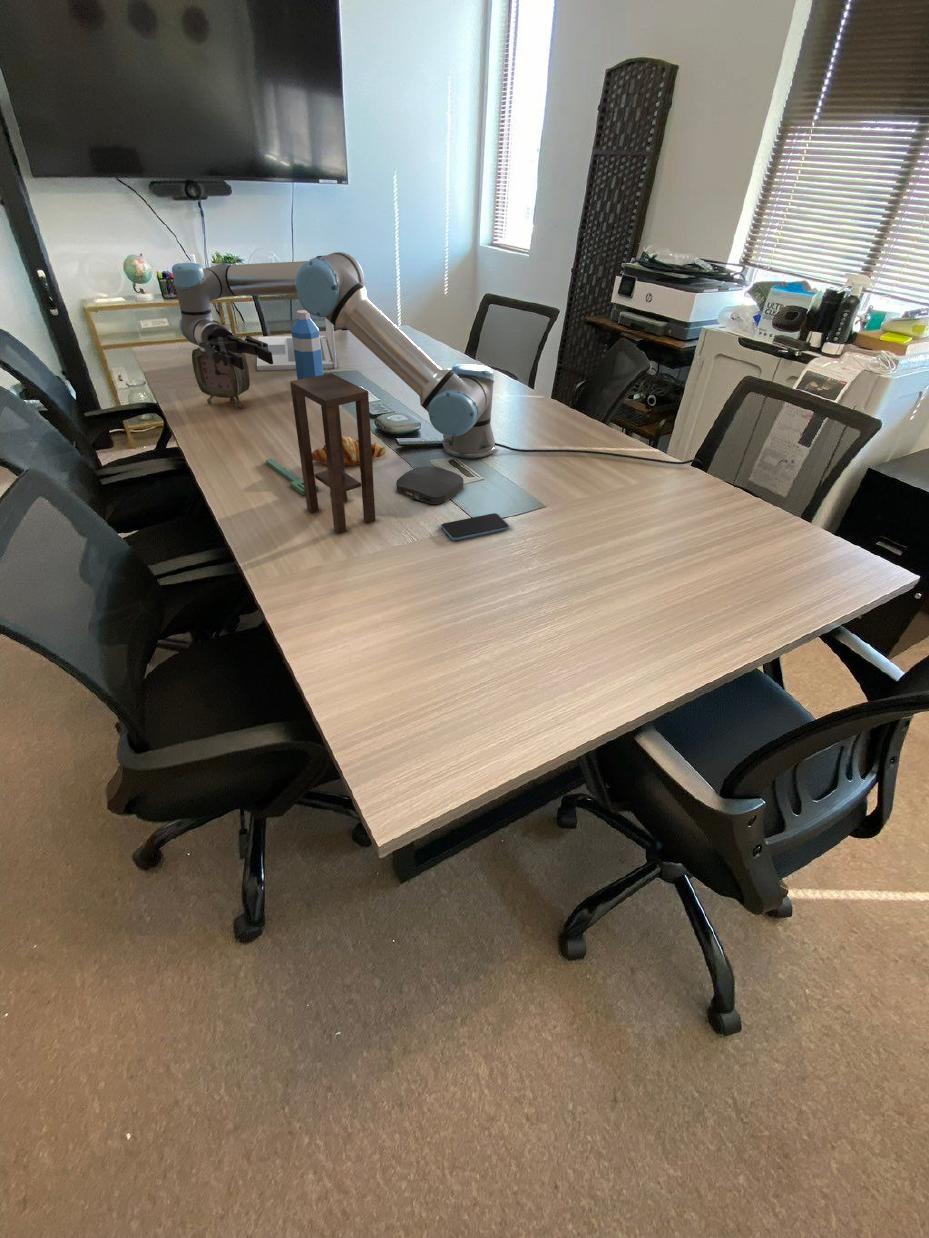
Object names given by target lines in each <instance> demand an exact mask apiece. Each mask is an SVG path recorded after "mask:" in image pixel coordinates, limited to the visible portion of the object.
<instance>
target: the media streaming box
mask: <svg viewBox="0 0 929 1238" xmlns="http://www.w3.org/2000/svg"><path fill="white" fill-rule="evenodd" d="M464 483H465V479H464V478H463V476H461V475H460V474H458V473H456V472H454V471H452V470H449V469H446V468H442V467H438V466H426V465H425V466H416V467H414V468H412V469H410V470H408V471H406V472H404V473H403V474H401V476H400V477H398V478H397V480H396V492H397V493H398V494H400V495H402V496H406V497H408V498H411V499H414V500H418V501H420V502H423V503H425V504H431V505H439V504H443V503H446V502H447V501H449V500H450V499H452V498H454V497H455V496H456V495H457V494H459V493H460V492H461V491H463V489H464V487H465V486H464V485H465V484H464Z"/></svg>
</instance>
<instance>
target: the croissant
mask: <svg viewBox="0 0 929 1238" xmlns="http://www.w3.org/2000/svg"><path fill="white" fill-rule="evenodd" d="M342 445H343V456H344V467H346V466H356V465H360V458H359V444H358V439H355V440H354V439H353V438H352V437H350V436H344V435H342ZM371 449H372V460H374V459H376V458H380V457H383V456H384V455H385V454H386V453H387V448H386V447H383V446H381V445H380V444H378V443H377V442H374V443H371ZM312 459H313V462H314V461H315V462H318V463H322V464H324V465H326V466H327V456H326V447H325V444H324V445H323V447H322V448H320V447H318V448H316V449H314V450H313V451H312Z"/></svg>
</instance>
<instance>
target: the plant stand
mask: <svg viewBox="0 0 929 1238" xmlns="http://www.w3.org/2000/svg"><path fill="white" fill-rule="evenodd" d="M289 385H290V392H291V399H292V407H293V414H294V421H295V430H296V436H297V444H298V450H299V451H298V452H299V458H300V465H301V472H302V479H303V481H304V489H305V495H304V496H305V503H306V509H307V511H308V512H309V513H310V514H313V513H316V512H318V511H320V510H319V500H318V491H316V486H317V484H316V480H318V481H319V482H320V483H322V484H323V485H325V486H326V487H328V488H329V491H330V492H329V493H330V503H331V511H332V521H333V530H334V532H336V534H338V535H339V534H344V533H345V532H347V522H346V512H345V511H346V510H345V503H346V502H348V492H349V491H352V490H356V489H358V488H361V498H362V515H363V521H365V523H368V524H370V523H372V522H375V521H376V506H375V504H376V502H375V487H374V486H375V485H374V469H373V467H374V466H373V459H372V449H371V444H372V433H371V431H372V430H371V414H370V413H371V412H370V398H369V397H370V396H369V390H367V389H365V388H363V387H361V386H358V385H356V384H355V383H352V382H351V381H349V380H346V379H344V378H342V377H340V376H338V375H336V374H334V373H331V372H330V373H324V374H323V375H320V376H315V377H310V378H305V379H300V380H298V379H295V380H291V381H289ZM306 398H307V399H309V400H310V401H313V402H315V403H316V404H318V405H319V406H320V409H321V410H320V411H321V418H322V427H323V436H324V445H325V447H326V456H327V465H326V466H327V469H326V470H323V471H319V472H316V473H315V468H314V460H313V459H312V452H313V451H312V442H311V437H310V436H311V435H310V428H309V427H310V426H309V419H308V411H307V403H306ZM354 402H355V413H356V416H355V417H356V429H357V440H358V444H359V458H360V464H359V470H360V473H359V474H360V481H359V480H358V479H356V478H354V477H353V476H351V475H350V474H348V473H347V472H346V469H345V466H344V456H343V445H342V436H343V435H342V424H341V413H340V406H342V405H346V404H350V403H354Z"/></svg>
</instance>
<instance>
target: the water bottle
mask: <svg viewBox="0 0 929 1238" xmlns="http://www.w3.org/2000/svg"><path fill="white" fill-rule="evenodd" d="M296 317H297V318H296V320H295V322H294V323H293V325H292V327H291V332H290V333H291V336H292V340H293V348H294V356H295V363H296V369H295V371H296V380H300V379H305V378H310V377H315V376H320V375H324V369H323V366H322V356H321V346H320V336H321V335H320V329H319V326H317V324H316V323H315V322H314V321H313V319H312V318H311V314H310V313H308V312H307V311H306V310H305V309H300V310H296Z"/></svg>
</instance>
